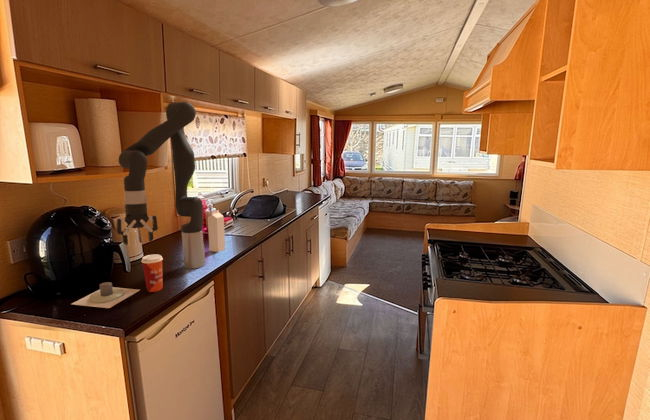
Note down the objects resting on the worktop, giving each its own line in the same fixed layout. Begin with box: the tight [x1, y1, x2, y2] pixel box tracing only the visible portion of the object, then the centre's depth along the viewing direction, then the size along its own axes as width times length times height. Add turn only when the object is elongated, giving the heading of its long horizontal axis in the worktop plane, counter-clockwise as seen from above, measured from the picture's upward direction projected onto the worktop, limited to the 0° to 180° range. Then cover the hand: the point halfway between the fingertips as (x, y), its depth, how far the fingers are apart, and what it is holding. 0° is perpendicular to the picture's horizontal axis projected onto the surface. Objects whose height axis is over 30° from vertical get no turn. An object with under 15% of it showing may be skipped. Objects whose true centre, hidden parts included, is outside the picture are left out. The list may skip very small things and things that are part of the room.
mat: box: [71, 286, 141, 309], centre depth 133 cm, size 16×16×1 cm
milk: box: [207, 209, 226, 253], centre depth 191 cm, size 6×6×22 cm
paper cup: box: [140, 253, 164, 293], centre depth 139 cm, size 8×8×14 cm
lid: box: [89, 281, 124, 303], centre depth 133 cm, size 11×11×5 cm
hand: (138, 242), depth 140 cm, fingers open, 8 cm apart
